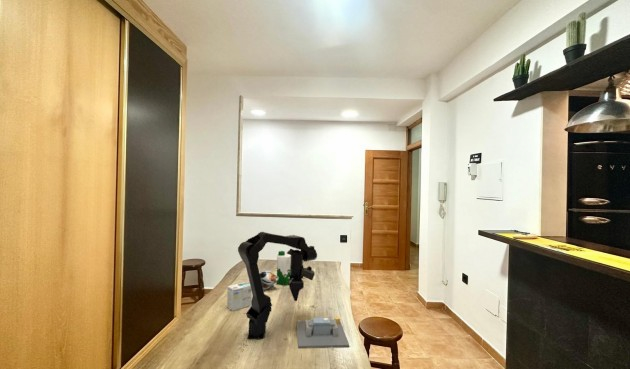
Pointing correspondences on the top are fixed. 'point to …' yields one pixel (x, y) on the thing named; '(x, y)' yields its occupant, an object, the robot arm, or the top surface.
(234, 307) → the light bulb box
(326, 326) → the servo block
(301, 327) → the plate
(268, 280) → the lucky cat figurine
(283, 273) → the milk carton
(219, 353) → the top surface
